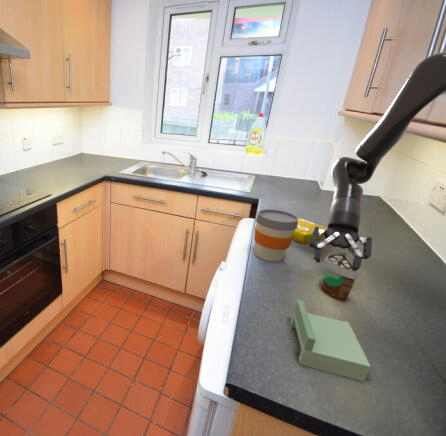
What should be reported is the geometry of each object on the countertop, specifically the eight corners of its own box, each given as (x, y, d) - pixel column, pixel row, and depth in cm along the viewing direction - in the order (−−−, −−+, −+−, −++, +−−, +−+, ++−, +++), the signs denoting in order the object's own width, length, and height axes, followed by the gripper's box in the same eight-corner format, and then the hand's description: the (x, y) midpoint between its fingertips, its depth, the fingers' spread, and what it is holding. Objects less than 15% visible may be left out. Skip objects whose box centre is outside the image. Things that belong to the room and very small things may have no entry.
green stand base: (343, 335, 68) (352, 311, 66) (363, 382, 57) (376, 354, 54) (290, 323, 72) (297, 299, 69) (299, 364, 61) (308, 337, 58)
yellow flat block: (325, 237, 119) (328, 226, 118) (305, 245, 112) (308, 233, 110) (289, 224, 131) (292, 214, 129) (268, 230, 124) (271, 220, 122)
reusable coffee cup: (293, 266, 97) (305, 224, 92) (253, 262, 99) (262, 220, 94) (281, 248, 109) (291, 210, 103) (245, 245, 111) (253, 207, 105)
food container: (312, 276, 92) (321, 247, 88) (335, 281, 90) (345, 252, 86) (320, 299, 81) (330, 267, 77) (346, 305, 79) (359, 273, 75)
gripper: (319, 205, 89) (308, 254, 84) (379, 215, 82) (372, 269, 77) (314, 216, 95) (304, 263, 90) (369, 226, 88) (362, 277, 83)
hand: (335, 265), depth 83 cm, fingers open, 8 cm apart
